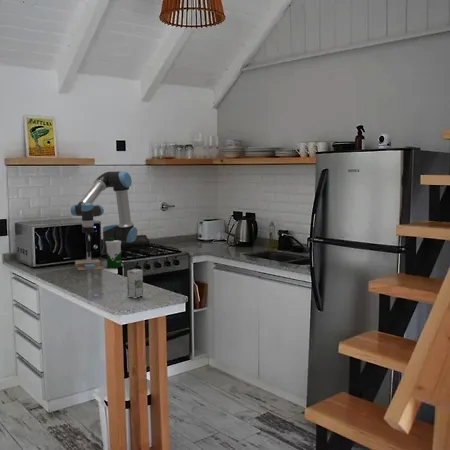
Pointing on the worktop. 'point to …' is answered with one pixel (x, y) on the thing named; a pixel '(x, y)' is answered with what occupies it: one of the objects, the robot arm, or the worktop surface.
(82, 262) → the board
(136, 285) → the syrup box
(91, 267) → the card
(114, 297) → the worktop surface
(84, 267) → the mat
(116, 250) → the milk carton
